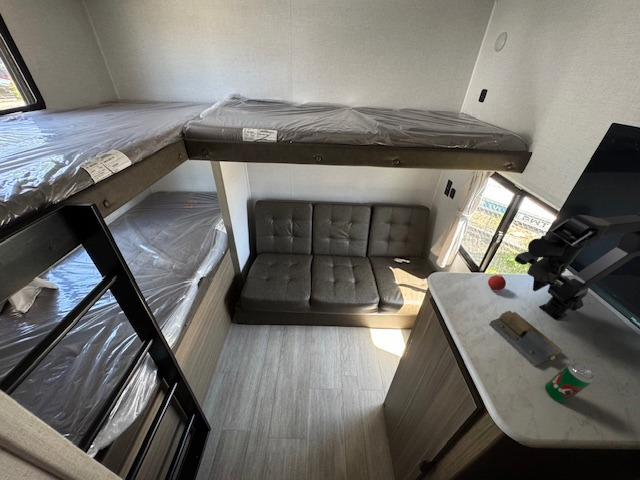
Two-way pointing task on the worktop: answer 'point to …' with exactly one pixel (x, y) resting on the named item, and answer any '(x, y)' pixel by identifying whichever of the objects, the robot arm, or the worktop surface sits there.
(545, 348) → the leaf fixed
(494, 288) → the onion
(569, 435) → the worktop surface
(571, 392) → the soda can
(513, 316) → the wooden block
